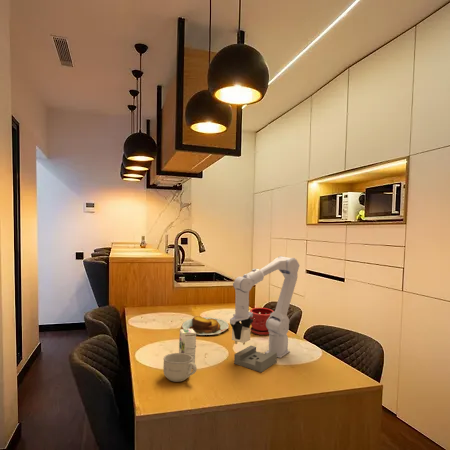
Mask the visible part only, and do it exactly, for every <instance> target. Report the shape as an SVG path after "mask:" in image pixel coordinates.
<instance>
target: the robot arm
mask: <svg viewBox="0 0 450 450" xmlns="http://www.w3.org/2000/svg"><path fill="white" fill-rule="evenodd" d="M299 268H300V263H299V261H298V260H297V258H295V257H287V256H282V255H279V256H278V257H276V258H274V259H273V260H272V261H270V262H269V263H267V264H266V265H264V266H263V267H262V268H260V269H259V268H252V269H251V271H250V272H247V273H244V274H243V275H242V276H237V277H236V278H235V279H234V281H233V283H232V286H233V288H234V290H235V291H234V292H235V305H234V306H235V307H234V308H235V309H234V314H232V317H231V318H229V324H230V326H231V329H232V328H233V331H234V335H235V339H238V340H240V338H241V330H242V327H247V328H250V329H251V323H252V322H253V319H251V318H250V317H253V313H252V312H250V309H249V307H250V291H251V290H252V288H253V286H255V285H257V284H258V283H260V282H262V281H263V280H264V277H265V276H267V275H270V274H271V273H274V272H276V271H277V270H278V271H279V272H280V273H281V274H282V276H283V277H284V280H283V283H282V286H281V289H280V293H279V295H278V296H279V297H278V299H277V303H276V305H275V310H273V311H274V312H272V313H271V314H270V317H269V318H268V319H267V321H266V327H267V329H268V332H269V334H268V349H267V350H266V351H265V352H264V354H267V353H269V352H271V351H273V352H276V353H277V358H279V359H280V358H283V357H284V356H285V355H287V354H288V353H290V350H289V348H288V347H289V346H288V345H289V337H288V332H289V329H290V325H289V324H290V319H289V317H288V311H289V308H290V305H291V301H292V297H293V294H294V291H295V289H296V288H295V287H296V285H297V281H298V272H299Z"/></svg>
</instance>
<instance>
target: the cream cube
mask: <svg viewBox="0 0 450 450" xmlns="http://www.w3.org/2000/svg"><path fill="white" fill-rule="evenodd" d="M231 340H232V341H233V342H234V344H235V345H237V344H238V343H241V344H242V345H244V346H245V345H246V343H247V342H249V341H251V327H250V328H247V327H242V330H241V338H240V340H238V339H235V335H234V331H233V328H232V327H231Z"/></svg>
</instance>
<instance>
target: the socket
mask: <svg viewBox="0 0 450 450" xmlns="http://www.w3.org/2000/svg"><path fill="white" fill-rule="evenodd" d="M233 358H234V360H233V361H234V362H233V363H234V365H238V366H240V367H243V368H247V369H249V370H253V371H255V372H259V373H263V372H264V371H266V370H267V369H269V368H270V367H271V366H273V365H275V364H276V363H277V362H278V361H277V359H278V357H277V353H276V352H273V351H271V352H269V353H267V354H265V353H263V352H259V351H257V346H255V345H249V346H247V347H245V348H244V349H241V350H239V351H238V352H236V353H234V357H233Z"/></svg>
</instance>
